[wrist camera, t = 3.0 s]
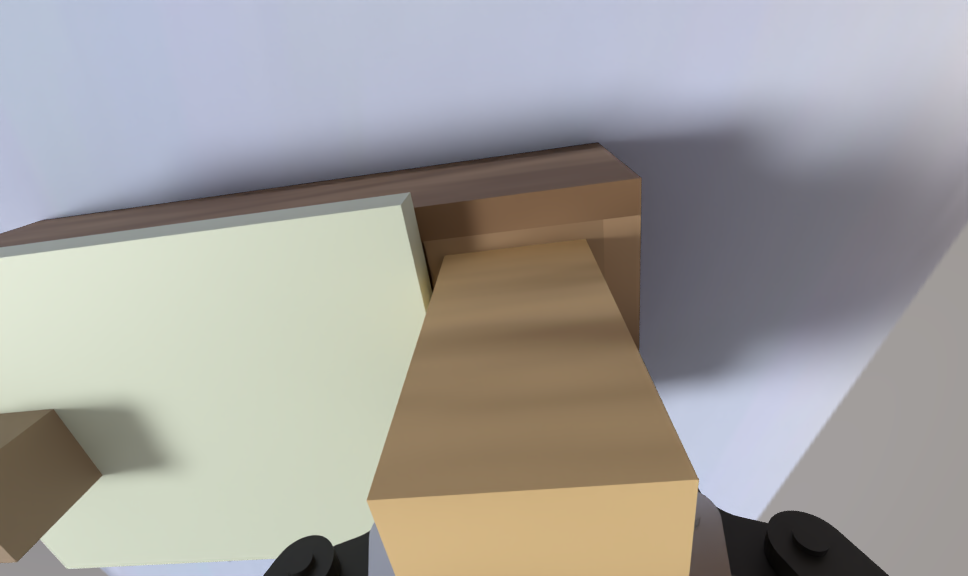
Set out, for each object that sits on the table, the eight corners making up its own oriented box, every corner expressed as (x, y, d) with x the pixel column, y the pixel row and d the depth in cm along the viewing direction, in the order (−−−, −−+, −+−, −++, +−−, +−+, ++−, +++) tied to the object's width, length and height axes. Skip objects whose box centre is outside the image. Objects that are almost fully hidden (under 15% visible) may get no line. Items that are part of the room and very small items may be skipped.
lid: (-138, 266, 13) (-391, 344, 10) (409, 192, 12) (364, 252, 8) (91, 540, 19) (-10, 657, 15) (481, 518, 17) (475, 644, 14)
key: (444, 255, 13) (366, 500, 6) (585, 239, 12) (698, 479, 5) (487, 475, 17) (475, 784, 9) (595, 468, 16) (667, 785, 9)
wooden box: (39, 220, 19) (-140, 280, 14) (597, 142, 17) (641, 177, 11) (165, 426, 24) (70, 527, 19) (604, 390, 22) (637, 493, 17)
